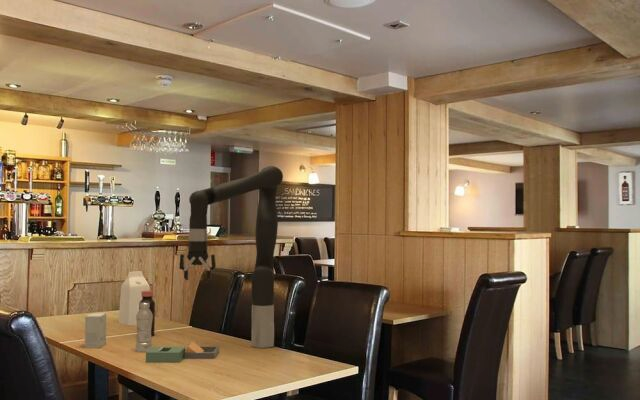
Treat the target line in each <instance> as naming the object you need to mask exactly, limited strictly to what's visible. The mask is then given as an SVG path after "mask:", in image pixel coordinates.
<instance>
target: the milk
mask: <svg viewBox="0 0 640 400" xmlns="http://www.w3.org/2000/svg"><path fill="white" fill-rule="evenodd" d="M150 289H151V287H150V284H149V283H148V281H147V279H146V278H145V276H144V274H143V271H142V270H138V271H135V270H134V271H129V272H128V275H127V277H126V279H125V280H124V281H123V282H122V284H121V287H120V296H119V297H120V299H119V309H118V310H119V311H118V322H119V323H118V324H121V323H122V324H121V325H124V324H125V326H128V325H130V326H137V321H136V315H137V313H138V311H139V302H140V301H141V300H142V291H151V290H150Z"/></svg>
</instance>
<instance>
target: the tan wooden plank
mask: <svg viewBox="0 0 640 400" xmlns="http://www.w3.org/2000/svg"><path fill="white" fill-rule="evenodd" d="M203 351H204V350H203V349H202V348H201V347H199V345H198V344H196V342H194V341H192V342H191V343H190V344H189V345H188V346H187V348H185V352H187V353H204V352H203Z"/></svg>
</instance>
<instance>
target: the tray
mask: <svg viewBox="0 0 640 400" xmlns="http://www.w3.org/2000/svg"><path fill="white" fill-rule="evenodd" d="M198 346H199V345H198ZM199 347H201V348H202V349H203V350H204V351H203V352H202V353H187V352H186V351H185V353H184V358H183V359H184V360H186V359H187V360H188V359H189V360H193V359H194V360H196V359H197V360H199V359H200V360H203V359H205V360H207V359H208V360H214V359H215V358H216V357H217V355H218V354H219V352H220V346H215V345H213V346H205V345H204V346H203V345H200V346H199Z"/></svg>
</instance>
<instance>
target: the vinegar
mask: <svg viewBox="0 0 640 400" xmlns="http://www.w3.org/2000/svg"><path fill="white" fill-rule="evenodd" d="M153 297H154V291H153V290H150V291H142V300H141V301H140V302H139V310H140V303H141V302H149V306H150V307H149V310H150V311H151V312H152V315H153V318H152V326H151V337H153V336H155V323H156V321H155V318H156V317H155V314H156V310H155V309H156V308H155V307H156V302H155V301H154V299H153Z"/></svg>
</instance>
